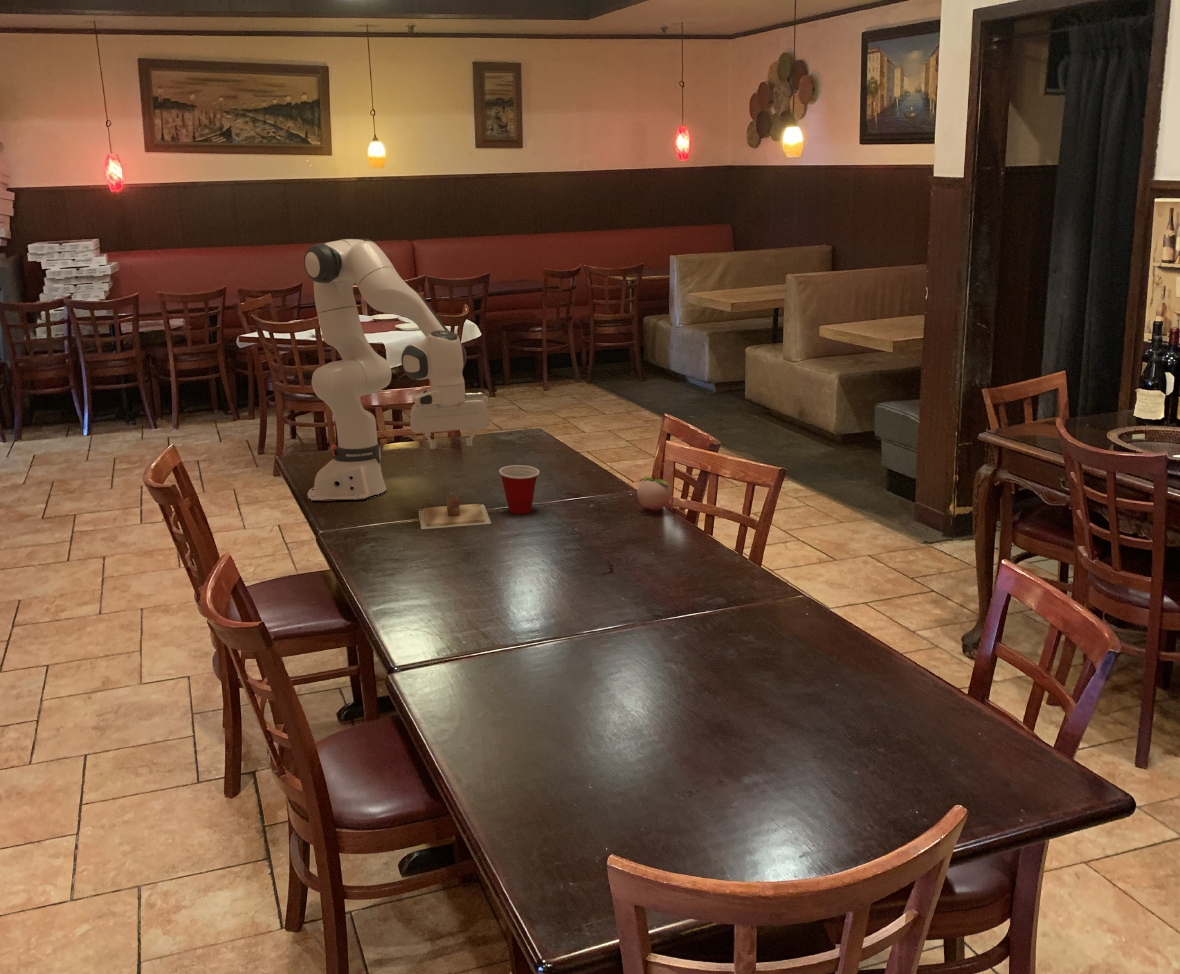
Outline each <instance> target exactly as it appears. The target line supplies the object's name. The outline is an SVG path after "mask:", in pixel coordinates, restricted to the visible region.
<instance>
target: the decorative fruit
mask: <svg viewBox="0 0 1180 974" xmlns="http://www.w3.org/2000/svg"><path fill="white" fill-rule="evenodd" d="M655 477H656V476H655V474H653V477H649V476H648V477H641V478H640V479H639V482H641V483H640V484H639V485H638V487H637V490H636V494H637V498H638V501H639V503H640V504H641V506H643V507H644V508H646V509H648V510H650V511H652V510H653V511H652V512H656V511H659V510H661V509H663V508H664V507H666V506H667V505H668V503H669V502H670V500H671V498H672V495H673V494H672V493H673V492H672V488H671V485H670V484H669V483H668V482H667V481H666V480H664V479H658V478H657V479H655Z"/></svg>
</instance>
